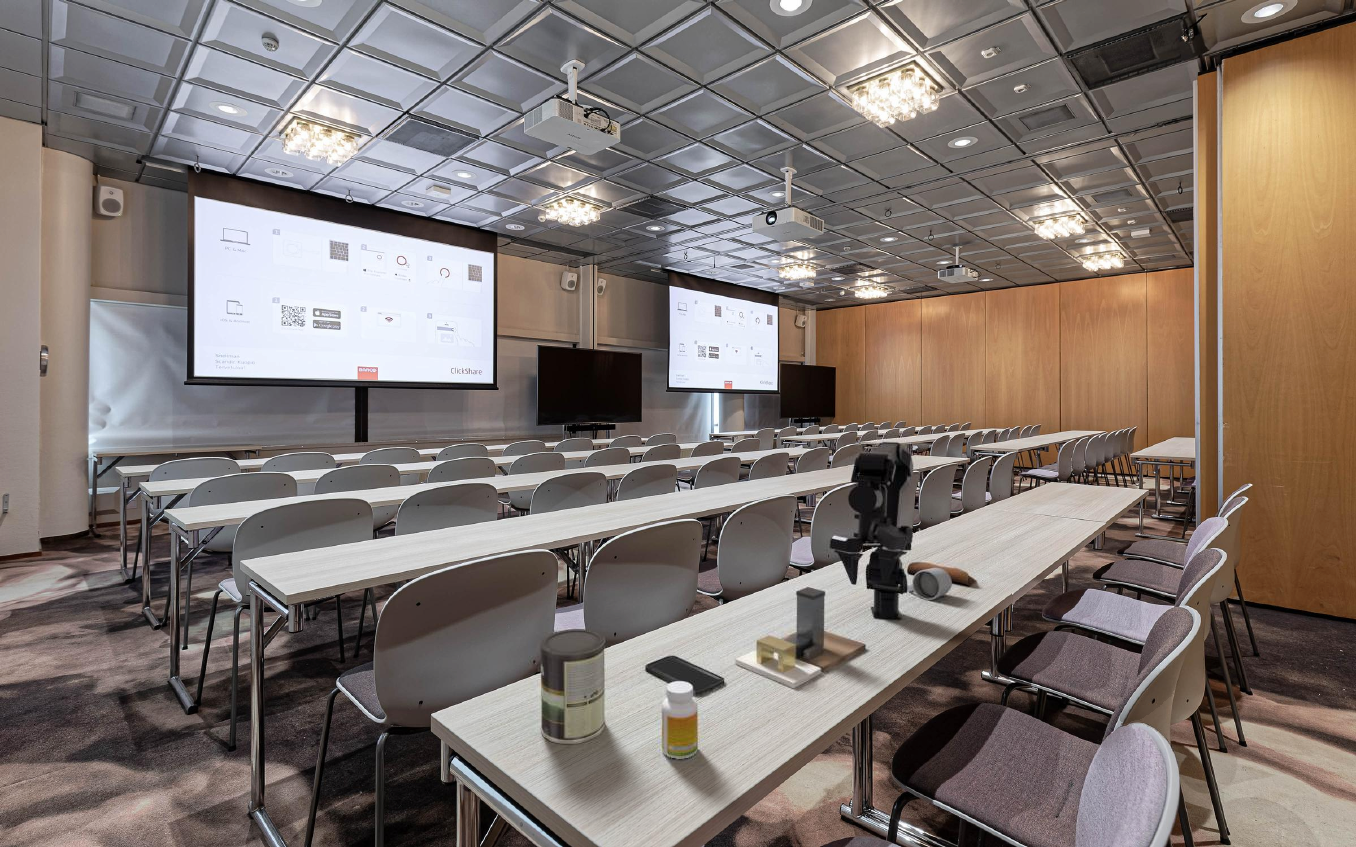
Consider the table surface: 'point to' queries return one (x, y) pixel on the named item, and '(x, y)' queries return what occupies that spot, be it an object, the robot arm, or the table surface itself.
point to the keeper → (779, 646)
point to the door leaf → (833, 651)
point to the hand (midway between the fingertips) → (869, 583)
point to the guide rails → (811, 650)
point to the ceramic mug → (931, 583)
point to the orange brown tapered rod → (954, 573)
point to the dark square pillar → (809, 619)
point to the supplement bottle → (679, 721)
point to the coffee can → (572, 686)
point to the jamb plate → (770, 670)
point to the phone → (685, 674)
